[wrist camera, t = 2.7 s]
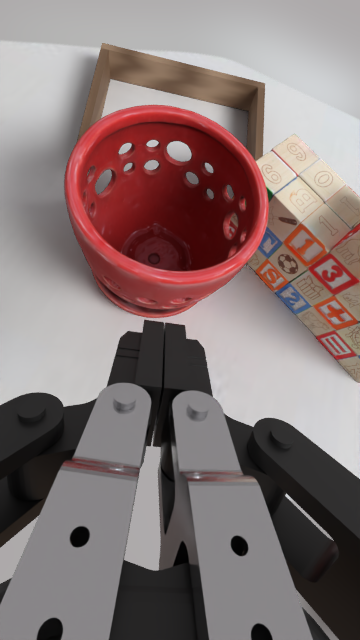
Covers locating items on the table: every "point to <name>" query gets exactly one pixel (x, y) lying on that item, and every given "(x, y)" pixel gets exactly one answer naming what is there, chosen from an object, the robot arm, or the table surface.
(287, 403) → the table surface
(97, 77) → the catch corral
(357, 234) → the stack of blocks
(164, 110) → the plant pot
